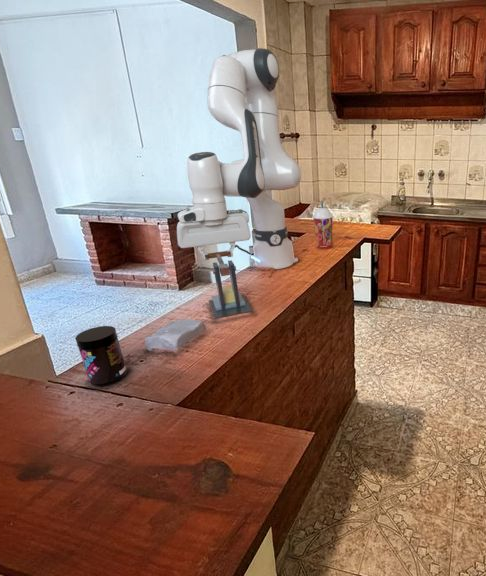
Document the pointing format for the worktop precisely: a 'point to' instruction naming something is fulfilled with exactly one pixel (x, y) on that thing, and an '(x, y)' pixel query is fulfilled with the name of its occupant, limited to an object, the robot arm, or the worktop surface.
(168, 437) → the worktop surface
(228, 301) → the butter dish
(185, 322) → the stone block
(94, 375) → the supplement container
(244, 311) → the butter cutter
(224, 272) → the arm
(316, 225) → the smoothie
